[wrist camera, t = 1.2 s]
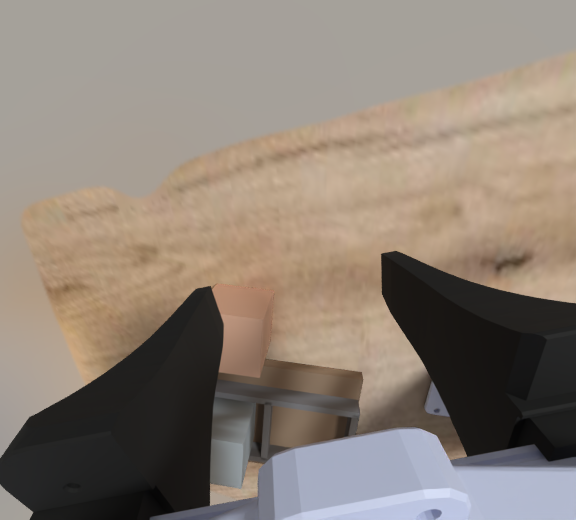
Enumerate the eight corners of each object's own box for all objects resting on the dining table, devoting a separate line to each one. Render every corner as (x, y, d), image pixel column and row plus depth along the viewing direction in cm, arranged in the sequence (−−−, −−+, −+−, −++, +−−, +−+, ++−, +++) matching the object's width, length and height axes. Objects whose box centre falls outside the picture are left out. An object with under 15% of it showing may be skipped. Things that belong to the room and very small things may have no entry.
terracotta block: (274, 290, 26) (263, 319, 21) (270, 340, 27) (259, 377, 23) (217, 283, 26) (193, 310, 21) (217, 332, 28) (195, 368, 23)
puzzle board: (361, 372, 27) (372, 428, 21) (343, 467, 31) (347, 536, 25) (190, 348, 28) (158, 395, 23) (193, 443, 32) (165, 503, 27)
